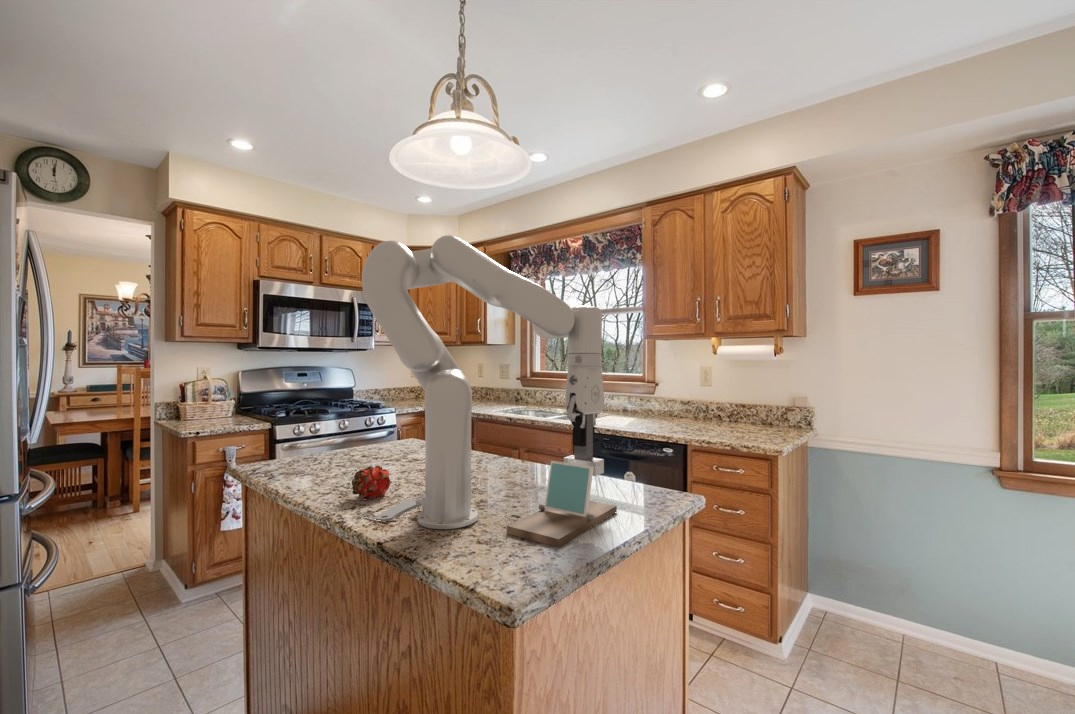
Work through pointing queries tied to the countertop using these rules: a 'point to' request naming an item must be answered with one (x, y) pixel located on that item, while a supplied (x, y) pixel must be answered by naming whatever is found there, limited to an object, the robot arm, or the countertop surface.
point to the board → (559, 524)
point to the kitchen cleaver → (397, 510)
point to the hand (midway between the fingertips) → (583, 443)
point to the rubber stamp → (586, 450)
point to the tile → (569, 488)
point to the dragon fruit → (371, 482)
